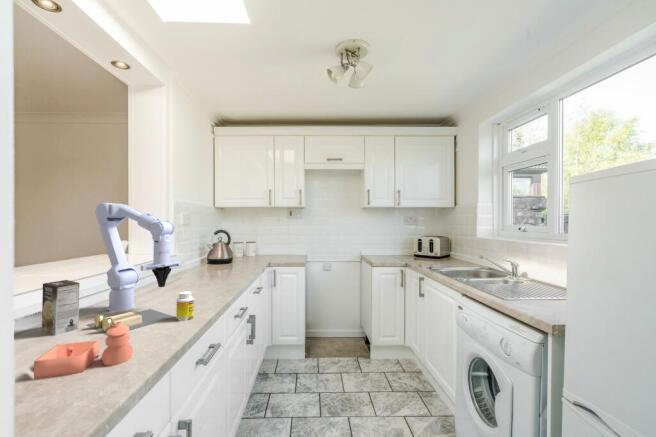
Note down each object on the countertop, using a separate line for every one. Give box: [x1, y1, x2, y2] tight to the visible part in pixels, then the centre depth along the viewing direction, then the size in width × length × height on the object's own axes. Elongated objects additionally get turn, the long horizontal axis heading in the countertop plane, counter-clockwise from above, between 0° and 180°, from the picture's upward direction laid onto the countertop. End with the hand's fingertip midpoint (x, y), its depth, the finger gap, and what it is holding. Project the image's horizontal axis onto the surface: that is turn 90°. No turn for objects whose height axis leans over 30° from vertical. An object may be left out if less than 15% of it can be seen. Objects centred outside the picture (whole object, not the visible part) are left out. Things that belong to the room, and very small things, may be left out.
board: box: [86, 308, 176, 337], centre depth 102 cm, size 18×21×1 cm
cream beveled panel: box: [106, 311, 142, 327], centre depth 98 cm, size 8×8×2 cm
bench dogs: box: [93, 314, 112, 334], centre depth 94 cm, size 8×2×4 cm, turn 58°
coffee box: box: [41, 279, 80, 336], centre depth 93 cm, size 9×6×16 cm
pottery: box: [33, 322, 134, 380], centre depth 73 cm, size 18×10×10 cm, turn 109°
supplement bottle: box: [175, 290, 195, 322], centre depth 105 cm, size 6×6×10 cm
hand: (161, 286), depth 113 cm, fingers closed
